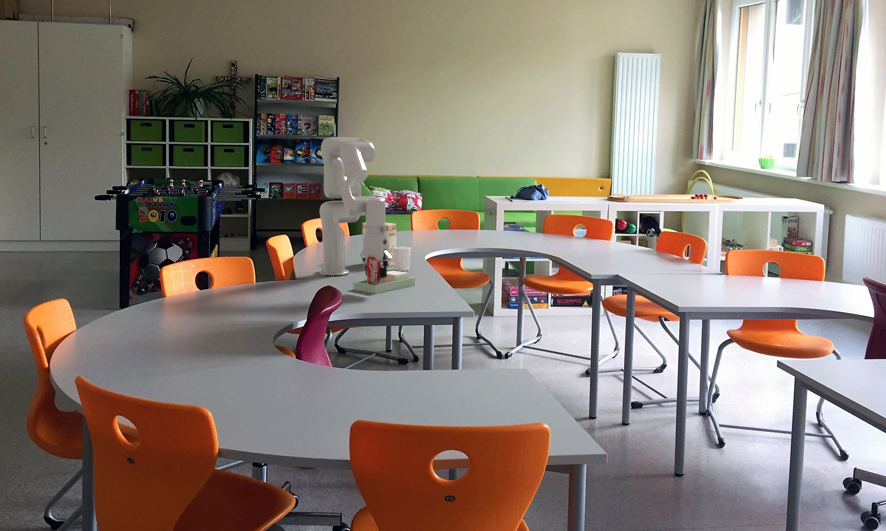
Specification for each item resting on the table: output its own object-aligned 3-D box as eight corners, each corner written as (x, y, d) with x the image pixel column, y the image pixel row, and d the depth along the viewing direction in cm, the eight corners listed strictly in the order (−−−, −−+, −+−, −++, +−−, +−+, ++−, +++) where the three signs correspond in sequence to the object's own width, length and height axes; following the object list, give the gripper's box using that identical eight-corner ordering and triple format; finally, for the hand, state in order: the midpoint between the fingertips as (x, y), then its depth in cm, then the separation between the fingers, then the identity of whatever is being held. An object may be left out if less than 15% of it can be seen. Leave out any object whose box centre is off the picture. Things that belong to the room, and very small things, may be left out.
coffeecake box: (397, 264, 362) (396, 223, 359) (387, 267, 356) (387, 224, 353) (371, 262, 370) (371, 221, 367) (362, 264, 364) (361, 222, 361)
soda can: (364, 287, 297) (364, 256, 295) (370, 283, 304) (369, 253, 302) (382, 287, 296) (382, 256, 294) (387, 284, 302) (387, 254, 300)
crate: (353, 292, 299) (353, 281, 298) (392, 283, 316) (392, 274, 315) (375, 296, 291) (375, 285, 291) (414, 287, 308) (414, 277, 307)
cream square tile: (380, 285, 307) (380, 272, 306) (393, 282, 313) (392, 270, 312) (395, 287, 302) (395, 275, 301) (407, 285, 308) (407, 272, 307)
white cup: (390, 270, 346) (390, 248, 345) (397, 267, 354) (397, 246, 352) (406, 271, 344) (406, 249, 342) (413, 269, 351) (413, 247, 349)
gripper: (399, 231, 293) (399, 277, 297) (366, 227, 304) (367, 272, 307) (385, 233, 288) (385, 280, 291) (352, 229, 299) (353, 274, 302)
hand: (376, 276), depth 299 cm, fingers closed on soda can, 7 cm apart
